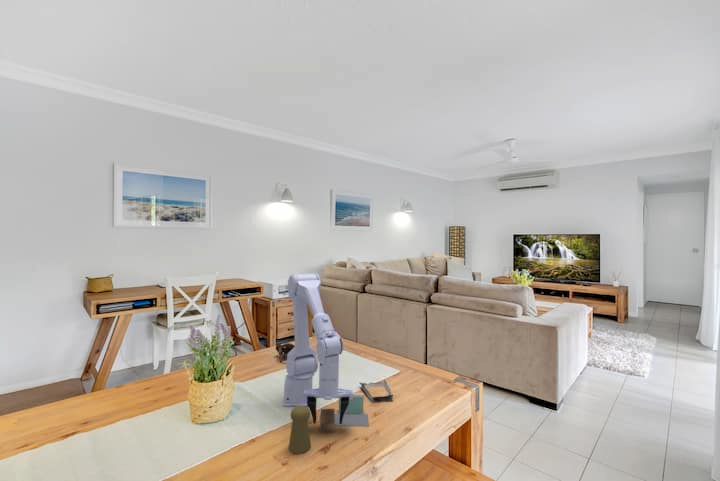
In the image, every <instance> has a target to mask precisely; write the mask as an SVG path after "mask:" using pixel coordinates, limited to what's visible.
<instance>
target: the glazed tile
mask: <svg viewBox="0 0 720 481" xmlns="http://www.w3.org/2000/svg"><path fill="white" fill-rule="evenodd" d="M364 393H365V392H353V400H350V399H349V405H348V407H347V409H346V411H345V413H344V414H364V397H365V394H364ZM340 409H341V398H338V414H340Z"/></svg>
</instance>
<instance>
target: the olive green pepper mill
mask: <svg viewBox="0 0 720 481" xmlns="http://www.w3.org/2000/svg"><path fill="white" fill-rule="evenodd" d="M291 409H292V410H291V412H290V419H291V421H292V424H291V430H290V435H289V436H290V438H289V443H288V451H289V452H290V453H291V454H293V455H303V454H306V453H308V452H310V450H311V446H312V445H311V444H312V443H311V436H310V435H311V434H310V426H309V419H310V417H311V411H310V409H309V407H308V406H302V405H300V406H293V408H291Z"/></svg>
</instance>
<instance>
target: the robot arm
mask: <svg viewBox="0 0 720 481" xmlns="http://www.w3.org/2000/svg"><path fill="white" fill-rule="evenodd" d="M321 283H322V282H321V277H320V275H319V273H318V272H313V273H298V274H296V273H291V274H290V276H289V277H288V280H287V291H288V292H287V294H288V298H289V299H291V300H292V308H293V309H292V310H293V332H294V334H293V335H294V346H295V347H294V348H293V349H292V350H291V351H290V352H289V353H288V354H287V360H286V361H285V362H286V363H285V364H286V366H285V369H286V373H287V375H285V379H284V384H283V385H284V389H283V406H284V407H296V406H300V405H302V406H306V407H308V408H309V410H310V415H311V416H312V423H313V425H314V424H317V399H323V400H325V401H331V400H332V399H339V398H341V409H340V413H339V414H340V424H342V419H343V416H344V414H346V413H345V411H346V409H347V407H348V405H349V399H350V400H353V393H354V390H351V389H345V388H344V389H343V388H339V376H340V374H339V372H340V370H339V369H340V366H339V363H340V355H341V354H343V351H344V342H343V339H342V337H341V335H339V334H338V331H335V328H334V327H333V326H334V325H333V323H332V320H331V318H330V315H329V314H327V313H325V310H324V307H323V303H322V299H321V294H320V290H321V285H322V284H321ZM308 308H309V311H310V312H311V314H312V317H313V318H312V320H311V326H312V329H313V331H314V335H315V337H316V338H315V339H316V345H315V346H316V347H315V348H316V350H315V349H314V347H311V346H310V333H309V332H310V331H309V313H308V312H309V311H308ZM318 369H319V370H318ZM317 371H319V373H318V374H319V375H318V376H319V377H318V387H317V388H313V377H314V376H315V373H316V372H317Z"/></svg>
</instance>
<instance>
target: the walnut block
mask: <svg viewBox="0 0 720 481" xmlns="http://www.w3.org/2000/svg"><path fill="white" fill-rule="evenodd" d="M335 411H336V410H335V408H321V409H320V415H319V423H320V424H319V431H320V432H319V433H320V434H321V433H324V434H325V433H327V434H328V433H329V434H333V433H335V427H336V426H335V414H336V413H335Z"/></svg>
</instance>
